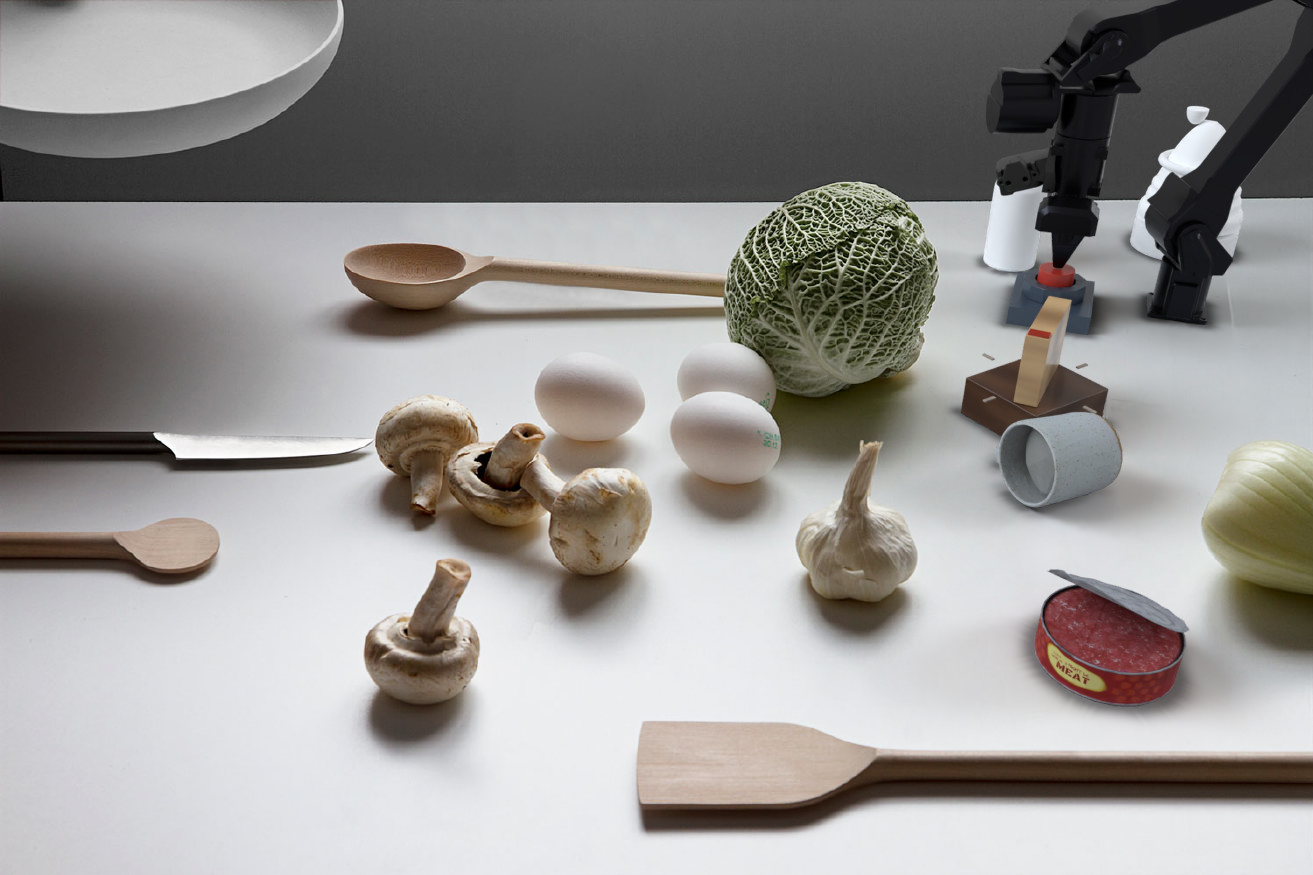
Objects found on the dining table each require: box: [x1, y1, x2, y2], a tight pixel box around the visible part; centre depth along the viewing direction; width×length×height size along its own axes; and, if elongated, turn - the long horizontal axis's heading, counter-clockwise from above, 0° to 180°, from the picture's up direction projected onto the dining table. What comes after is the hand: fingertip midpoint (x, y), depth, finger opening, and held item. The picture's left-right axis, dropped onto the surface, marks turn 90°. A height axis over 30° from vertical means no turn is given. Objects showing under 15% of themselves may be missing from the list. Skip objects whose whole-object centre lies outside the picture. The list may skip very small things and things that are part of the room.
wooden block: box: [960, 352, 1109, 437], centre depth 111 cm, size 14×14×4 cm
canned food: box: [1033, 568, 1190, 707], centre depth 81 cm, size 11×10×10 cm
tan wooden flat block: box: [1014, 296, 1072, 407], centre depth 108 cm, size 10×2×7 cm, turn 152°
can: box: [983, 180, 1049, 274], centre depth 143 cm, size 6×6×12 cm
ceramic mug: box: [994, 412, 1124, 508], centre depth 100 cm, size 11×8×8 cm
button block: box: [1005, 268, 1096, 336], centre depth 133 cm, size 11×9×4 cm
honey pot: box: [1129, 105, 1244, 261], centre depth 146 cm, size 13×13×18 cm
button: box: [1037, 261, 1077, 288], centre depth 132 cm, size 4×4×2 cm
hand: (1057, 267), depth 131 cm, fingers closed
